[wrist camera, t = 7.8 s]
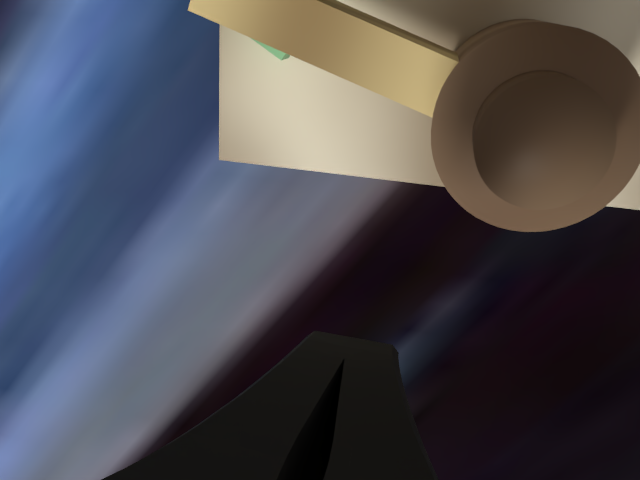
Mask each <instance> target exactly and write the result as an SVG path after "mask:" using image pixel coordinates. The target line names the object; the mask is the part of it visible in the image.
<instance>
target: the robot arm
mask: <svg viewBox="0 0 640 480" xmlns="http://www.w3.org/2000/svg"><path fill="white" fill-rule="evenodd" d="M102 480H438V477H437V475H436V473H435V471H434V469H433V466H432V464H431V462H430V460H429V457H428V455H427V453H426V450H425V448H424V445H423V443H422V441H421V438H420V435H419V432H418V430H417V427H416V424H415V421H414V419H413V416H412V413H411V410H410V407H409V404H408V401H407V398H406V394H405V390H404V386H403V383H402V378H401V374H400V368H399V360H398V352H397V350H396V349H395V348H394V346H393V345H390V344H385V343H379V342H374V341H368V340H363V339H357V338H352V337H346V336H341V335H335V334H330V333H324V332H319V331H314V332H313V333H311V334H310V335H308V336H307V337H306V338H305V339H304V340H303V341H302V342H301V343H300V344H299V345H297V346H296V347H295V348H294V349H293V350H292V351H291V352H290V353H289V354H288V355H287V356H285V357H284V358H283V359H282V360H281V361H280V362H279V363H277V364H276V365H275V366H274V367H273V368H272V369H271V370H269V371H268V372H267V373H266V374H264V375H263V376H262V377H261V378H260V379H258V380H257V381H256V382H255V383H253V384H252V385H251V386H250V387H248V388H247V389H246V390H245V391H243V392H242V393H241V394H240V395H238V396H237V397H236V398H234V399H233V400H232V401H230V402H229V403H228V404H226V405H225V406H223V407H222V408H221V409H219V410H218V411H216V412H215V413H214V414H212V415H211V416H209V417H208V418H207V419H205V420H204V421H202V422H201V423H199V424H198V425H197V426H195V427H194V428H192V429H191V430H189V431H188V432H186V433H184V434H183V435H181V436H180V437H178V438H177V439H175V440H174V441H172V442H170V443H169V444H167V445H165V446H164V447H162V448H160V449H159V450H157V451H155V452H154V453H152V454H150V455H148V456H147V457H145V458H143V459H141V460H140V461H138V462H136V463H134V464H132V465H130V466H128V467H127V468H125V469H123V470H121V471H118V472H116V473H114V474H112V475H110V476H108V477H106V478H104V479H102Z"/></svg>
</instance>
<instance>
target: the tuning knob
mask: <svg viewBox="0 0 640 480" xmlns="http://www.w3.org/2000/svg"><path fill="white" fill-rule="evenodd" d="M188 11H191V12H193V13H195V14H198V15H200V16H202V17H204V18H207V19H209V20H211V21H213V22H216V23H218V24H220V25H223V26H225V27H227V28H229V29H232V30H234V31H236V32H238V33H241V34H243V35H245V36H248V37H250V38H252V39H254V40H257V41H259V42H261V43H263V44H266V45H268V46H270V47H273V48H275V49H277V50H279V51H282V52H284V53H286V54H288V55H291V56H293V57H295V58H298V59H300V60H302V61H304V62H307V63H309V64H311V65H313V66H316V67H318V68H320V69H323V70H325V71H327V72H329V73H332V74H334V75H336V76H338V77H341V78H343V79H345V80H348V81H350V82H352V83H354V84H357V85H359V86H361V87H364V88H366V89H368V90H370V91H373V92H375V93H377V94H379V95H382V96H384V97H386V98H389V99H391V100H393V101H395V102H398V103H400V104H402V105H404V106H407V107H409V108H411V109H414V110H416V111H418V112H420V113H423V114H425V115H427V116H429V117H432V126H431V149H432V155H433V160H434V163H435V167H436V170H437V172H438V174H439V177H440V179H441V181H442V183H443V184H444V186H445V187H446V189H447V191H448V192H449V193H450V195H451V196H452V197H453V198H454V199H455V201H456V202H457V203H459V204H460V205H461V206H462V207H463V208H464V209H465V210H466V211H468V212H469V213H471V214H472V215H474V216H475V217H477V218H479V219H481V220H482V221H484V222H486V223H489V224H491V225H494V226H497V227H500V228H504V229H508V230H513V231H522V232H540V231H549V230H554V229H559V228H563V227H566V226H569V225H572V224H575V223H577V222H580V221H582V220H584V219H586V218H588V217H590V216H592V215H593V214H595V213H596V212H598V211H599V210H601V209H602V208H604V207H605V206H606V205H607V204H608V203H610V202H611V201H612V200H613V199H614V198H615V197H616V196H617V195H618V194H619V193H620V192H621V191H622V190H623V189H624V188H625V186H626V185H627V184H628V182H629V181H630V180H631V178H632V177H633V175H634V173H635V172H636V170H637V168H638V166H639V164H640V76H639V74H638V73H637V71H636V69H635V68H634V66H633V65H632V64H631V62H630V61H629V60H628V58H627V57H626V56H625V55H624V54H623V53H622V52H621V51H620V50H619V49H618V48H616V47H615V46H614V45H612V44H611V43H610V42H608V41H607V40H605V39H603V38H601V37H599V36H598V35H596V34H594V33H591V32H588V31H586V30H583V29H580V28H576V27H571V26H565V25H560V24H555V23H550V22H545V21H540V20H535V19H513V20H508V21H503V22H499V23H496V24H493V25H491V26H488V27H486V28H484V29H482V30H480V31H479V32H477V33H476V34H474V35H473V36H471V37H470V38H469V39H467V40H466V41H465V42H464V43H463V44H462V45H461V46H460V47H459V48H458V49H457V50H456V51H455V52H454V51H452V50H449V49H447V48H445V47H442V46H440V45H438V44H435V43H433V42H431V41H429V40H426V39H424V38H422V37H419V36H417V35H415V34H412V33H410V32H408V31H406V30H403V29H401V28H399V27H396V26H394V25H392V24H389V23H387V22H385V21H383V20H380V19H378V18H376V17H373V16H371V15H369V14H367V13H364V12H362V11H360V10H357V9H355V8H353V7H350V6H348V5H346V4H344V3H341V2H339V1H337V0H191V1H190V4H189V8H188Z"/></svg>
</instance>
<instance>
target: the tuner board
mask: <svg viewBox="0 0 640 480" xmlns="http://www.w3.org/2000/svg"><path fill="white" fill-rule="evenodd" d="M337 1H339V2H341V3H344V4H346V5H348V6H350V7H353V8H355V9H357V10H360V11H362V12H364V13H367V14H369V15H371V16H373V17H376V18H378V19H380V20H383V21H385V22H387V23H389V24H392V25H394V26H396V27H399V28H401V29H403V30H406V31H408V32H410V33H412V34H415V35H417V36H419V37H422V38H424V39H426V40H429V41H431V42H433V43H435V44H438V45H440V46H442V47H445V48H447V49H449V50H452V51H454V52H455V51H456V50H457V49H458V48H459V47H460V46H461V45H462V44H463V43H464V42H465V41H466V40H467V39H469V38H470V37H471V36H473V35H474V34H476V33H477V32H479V31H480V30H482V29H484V28H486V27H488V26H491V25H493V24H496V23H499V22H503V21H508V20H513V19H535V20H540V21H545V22H550V23H555V24H560V25H565V26H571V27H576V28H580V29H583V30H586V31H588V32H591V33H594V34H596V35H598V36H599V37H601V38H603V39H605V40H607V41H608V42H610V43H611V44H612V45H614V46H615V47H616V48H618V49H619V50H620V51H621V52H622V53H623V54H624V55H625V56H626V57H627V58H628V60H629V61H630V62H631V64H632V65H633V66H634V68H635V69H636V71H637V73H638V74H639V76H640V0H337ZM431 126H432V117H429V116H427V115H425V114H423V113H420V112H418V111H416V110H414V109H411V108H409V107H407V106H404V105H402V104H400V103H398V102H395V101H393V100H391V99H389V98H386V97H384V96H382V95H379V94H377V93H375V92H373V91H370V90H368V89H366V88H364V87H361V86H359V85H357V84H354V83H352V82H350V81H348V80H345V79H343V78H341V77H338V76H336V75H334V74H332V73H329V72H327V71H325V70H323V69H320V68H318V67H316V66H313V65H311V64H309V63H307V62H304V61H302V60H300V59H298V58H295V57H293V56H291V55H288V54H286V53H284V52H282V51H279V50H277V49H275V48H273V47H270V46H268V45H266V44H263V43H261V42H259V41H257V40H254V39H252V38H250V37H248V36H245V35H243V34H241V33H238V32H236V31H234V30H232V29H229V28H227V27H225V26H223V25H220V70H219V160H225V161H234V162H242V163H250V164H259V165H267V166H275V167H284V168H292V169H301V170H309V171H317V172H326V173H334V174H342V175H351V176H359V177H368V178H376V179H384V180H393V181H401V182H409V183H418V184H426V185H435V186H443V187H445V186H444V184H443V183H442V181H441V179H440V177H439V174H438V172H437V170H436V167H435V163H434V160H433V155H432V149H431ZM606 206H610V207H619V208H627V209H636V210H640V164H639V166H638V168H637V170H636V172H635V173H634V175H633V177H632V178H631V180H630V181H629V182H628V184H627V185H626V186H625V188H624V189H623V190H622V191H621V192H620V193H619V194H618V195H617V196H616V197H615V198H614V199H613V200H612V201H611V202H610V203H608V204H607V205H606Z"/></svg>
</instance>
